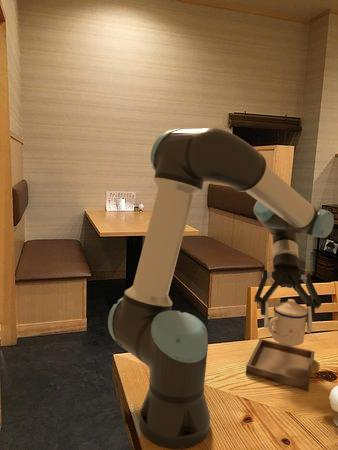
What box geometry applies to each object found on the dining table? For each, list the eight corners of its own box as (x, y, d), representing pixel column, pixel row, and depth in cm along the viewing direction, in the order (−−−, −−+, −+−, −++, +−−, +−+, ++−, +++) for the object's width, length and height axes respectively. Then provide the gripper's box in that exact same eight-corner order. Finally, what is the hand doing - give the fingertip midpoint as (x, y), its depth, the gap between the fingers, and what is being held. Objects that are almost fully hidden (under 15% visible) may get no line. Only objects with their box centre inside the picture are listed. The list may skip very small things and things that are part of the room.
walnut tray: (245, 373, 102) (246, 365, 102) (259, 345, 118) (260, 338, 118) (308, 391, 96) (309, 382, 95) (313, 359, 112) (314, 351, 111)
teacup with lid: (287, 329, 113) (291, 292, 111) (311, 343, 105) (316, 303, 103) (256, 336, 107) (259, 297, 105) (278, 351, 99) (283, 309, 97)
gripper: (322, 267, 116) (329, 338, 104) (245, 261, 120) (243, 328, 107) (328, 255, 110) (336, 328, 98) (247, 248, 113) (245, 318, 101)
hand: (288, 328), depth 102 cm, fingers closed on teacup with lid, 11 cm apart
